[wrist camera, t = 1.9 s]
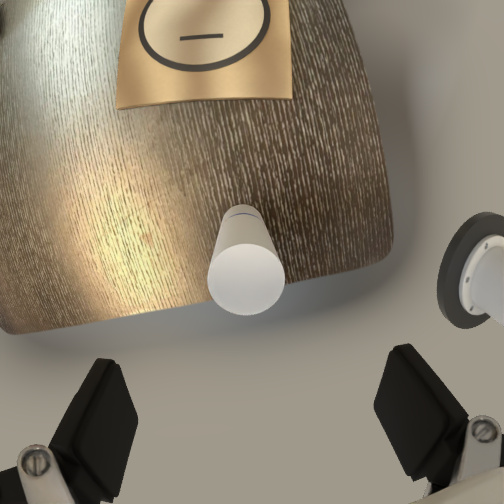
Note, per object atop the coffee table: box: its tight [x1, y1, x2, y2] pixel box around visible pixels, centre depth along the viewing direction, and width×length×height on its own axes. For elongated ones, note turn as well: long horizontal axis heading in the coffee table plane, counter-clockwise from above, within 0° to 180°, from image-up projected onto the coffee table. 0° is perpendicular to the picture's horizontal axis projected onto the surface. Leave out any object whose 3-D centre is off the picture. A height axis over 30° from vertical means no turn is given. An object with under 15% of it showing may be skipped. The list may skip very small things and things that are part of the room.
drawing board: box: [116, 0, 292, 110], centre depth 23 cm, size 18×20×2 cm
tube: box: [207, 204, 285, 315], centre depth 23 cm, size 4×4×15 cm
